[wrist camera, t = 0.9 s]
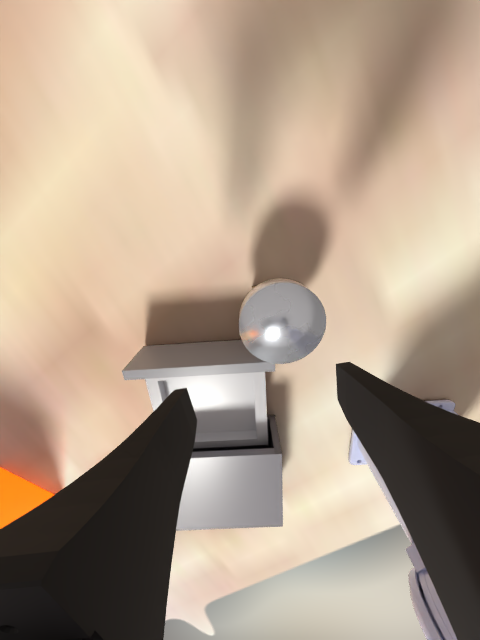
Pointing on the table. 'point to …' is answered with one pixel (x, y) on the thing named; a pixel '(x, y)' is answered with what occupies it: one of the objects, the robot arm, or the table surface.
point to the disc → (281, 321)
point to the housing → (234, 486)
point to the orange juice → (18, 497)
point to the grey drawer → (210, 388)
